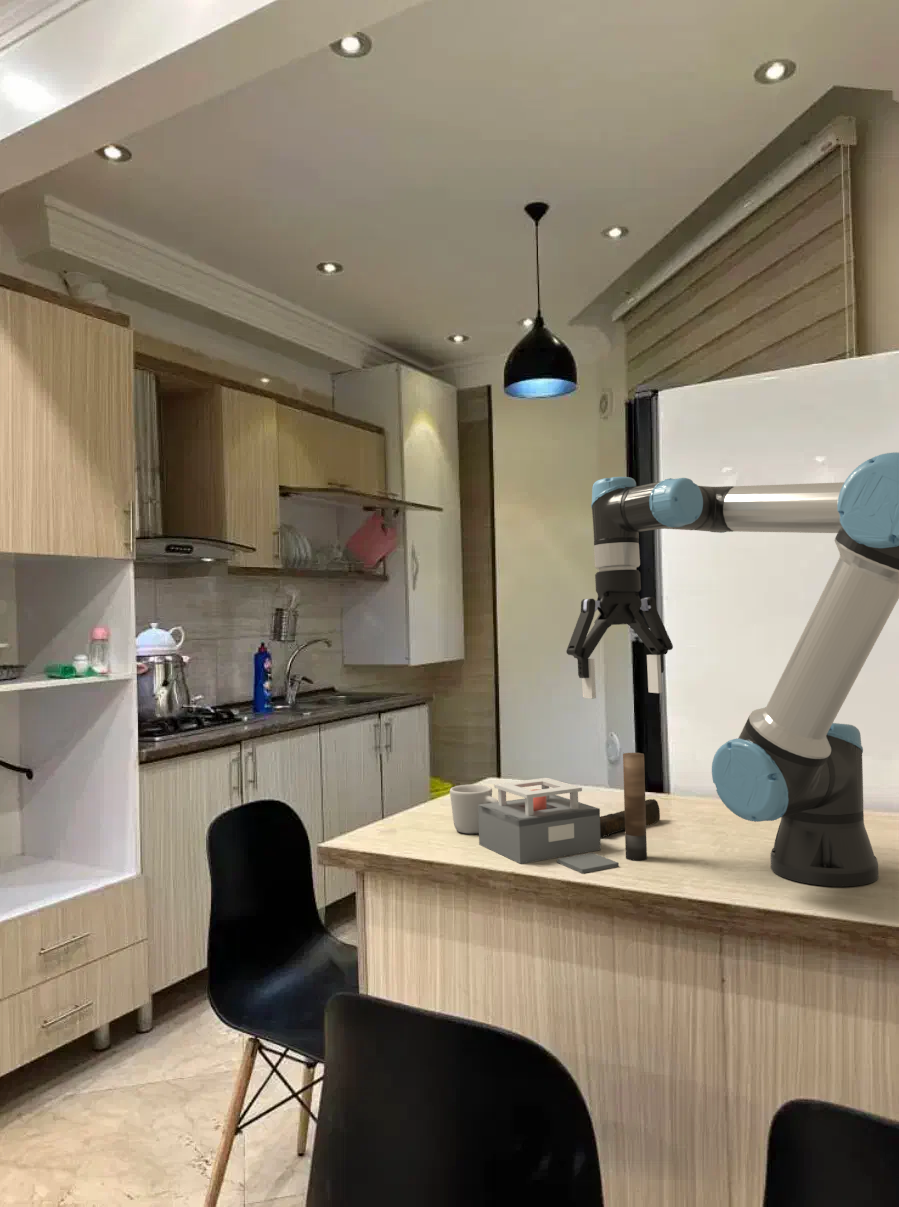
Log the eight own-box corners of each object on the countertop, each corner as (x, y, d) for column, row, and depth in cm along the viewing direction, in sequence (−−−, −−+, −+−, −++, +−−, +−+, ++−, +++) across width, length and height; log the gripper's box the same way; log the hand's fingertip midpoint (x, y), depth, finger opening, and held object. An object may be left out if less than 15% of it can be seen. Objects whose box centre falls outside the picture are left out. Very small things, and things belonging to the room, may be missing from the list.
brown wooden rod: (651, 858, 143) (648, 754, 143) (634, 861, 142) (631, 756, 142) (637, 854, 146) (635, 752, 146) (621, 856, 145) (618, 753, 145)
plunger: (550, 832, 151) (549, 791, 151) (535, 834, 150) (534, 793, 150) (541, 828, 154) (540, 788, 154) (526, 830, 153) (525, 790, 153)
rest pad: (618, 866, 139) (618, 862, 139) (582, 873, 136) (582, 869, 136) (592, 856, 145) (592, 852, 146) (557, 862, 142) (557, 858, 142)
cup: (513, 832, 163) (512, 789, 163) (485, 841, 157) (484, 796, 157) (470, 823, 170) (469, 782, 170) (442, 832, 164) (441, 789, 164)
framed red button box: (601, 850, 149) (599, 787, 149) (520, 864, 142) (519, 798, 142) (555, 832, 162) (553, 775, 162) (479, 844, 155) (477, 784, 155)
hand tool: (603, 841, 156) (602, 815, 156) (586, 837, 159) (586, 811, 159) (670, 824, 167) (670, 800, 167) (654, 820, 171) (653, 796, 171)
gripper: (661, 571, 157) (667, 689, 157) (542, 572, 147) (548, 699, 146) (690, 567, 151) (695, 691, 150) (567, 568, 140) (573, 701, 139)
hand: (622, 695), depth 148 cm, fingers open, 13 cm apart
